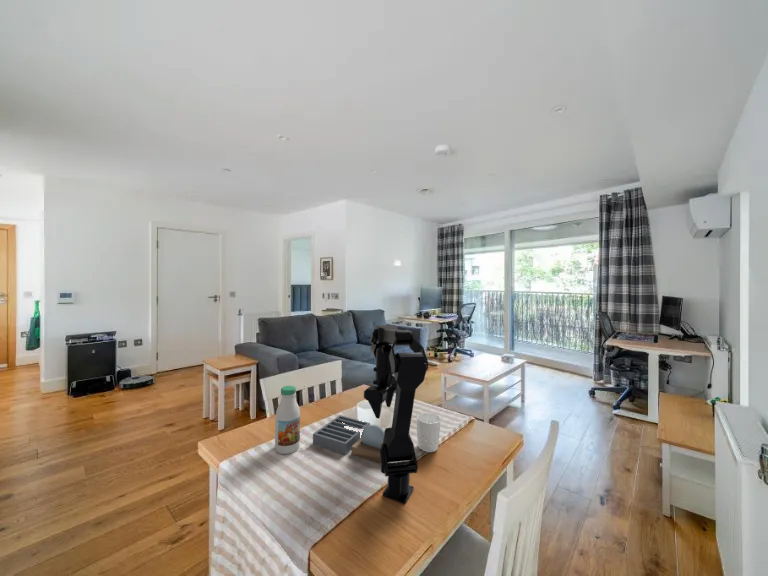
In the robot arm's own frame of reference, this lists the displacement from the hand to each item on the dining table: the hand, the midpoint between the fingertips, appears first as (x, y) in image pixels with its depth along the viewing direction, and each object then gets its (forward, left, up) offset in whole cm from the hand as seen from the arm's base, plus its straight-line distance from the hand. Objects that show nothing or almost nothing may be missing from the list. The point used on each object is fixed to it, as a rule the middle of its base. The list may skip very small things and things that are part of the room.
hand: (383, 412), depth 102 cm
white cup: (+10, -12, -13) cm, 21 cm away
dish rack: (+1, +16, -13) cm, 21 cm away
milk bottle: (-13, +28, -13) cm, 34 cm away
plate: (-2, +2, -13) cm, 13 cm away
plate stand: (-2, +2, -13) cm, 13 cm away
